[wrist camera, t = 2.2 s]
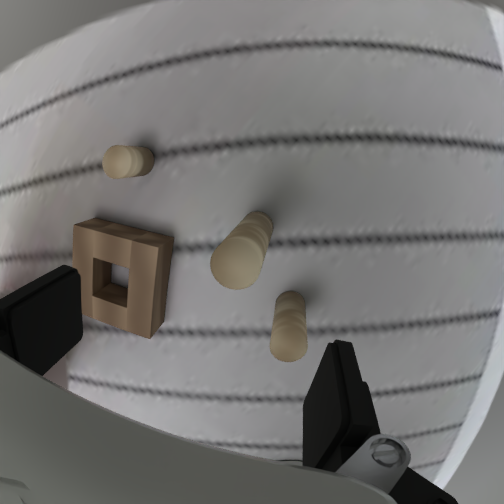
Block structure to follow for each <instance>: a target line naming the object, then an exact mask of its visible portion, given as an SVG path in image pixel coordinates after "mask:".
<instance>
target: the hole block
mask: <svg viewBox="0 0 504 504" xmlns="http://www.w3.org/2000/svg"><path fill="white" fill-rule="evenodd" d="M173 242H174V238H173V237H169V236H165V235H161V234H157V233H153V232H149V231H145V230H141V229H137V228H133V227H129V226H125V225H121V224H117V223H113V222H109V221H105V220H101V219H97V218H93V219H90V220H87V221H84V222H81V223H78V224H75V225H74V229H73V268H76V269H77V270H78V273H79V274H80V276H81V303H82V314H84V315H86V316H89V317H91V318H94V319H96V320H99V321H101V322H104V323H107V324H109V325H112V326H114V327H117V328H120V329H123V330H125V331H128V332H131V333H134V334H136V335H139V336H142V337H145V338H148V339H151V337H152V336H153V335H154V334H155V332H156V331H157V330H158V328H159V327H160V326H161V325H162V323H163V322H164V315H165V305H166V296H167V288H168V279H169V271H170V264H171V256H172V249H173ZM112 263H113V264H116V265H120V266H123V267H126V268H129V282H128V288H125V287H122V286H119V285H116V284H113V283H111V266H112Z"/></svg>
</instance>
